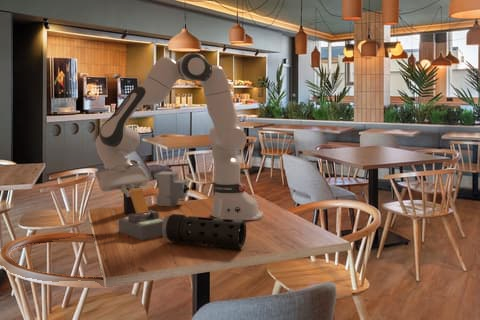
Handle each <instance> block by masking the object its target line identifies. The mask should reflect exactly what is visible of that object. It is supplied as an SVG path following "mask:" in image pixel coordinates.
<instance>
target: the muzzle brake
mask: <svg viewBox="0 0 480 320" xmlns="http://www.w3.org/2000/svg"><path fill="white" fill-rule="evenodd" d="M163 219H164V221H163V225H162V234H163V238H164V239H166V240H168V241H170V242H176V243H182V245H188V246H192V245H193V244H198V245H199V244H200V245H207V247H215V248H224V249H232V250H234V249H235V250H241V249H242V247H243V246H244V245H245V243H246V239H247V225H246V222H245V221H246V220H230V219H219V218H216V217H207V216H206V217H204V216H202V217H201V216H193V215H189V216H186V215H185V214H179V213H177V214H176V213H173V214H171V215H165V217H164V218H163Z"/></svg>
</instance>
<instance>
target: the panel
mask: <svg viewBox="0 0 480 320" xmlns="http://www.w3.org/2000/svg"><path fill="white" fill-rule="evenodd" d="M148 211H149V212H150V213H151V217H149V218H144V219H140V216H139V215H137V214H133V213H132V214H127V216H125V217H122V218H120V217H119V218H118V232H120V233H122V234H124V235H127V236H129V237H132V238H135V239H138V240H139V241H140V240H141V241H144V240H150V239H154V238H158V237H162V236H163V234H162V225H163V221H164V219H165V218H161V217H159V212H158V211H156V210H153V209H150V210H149V209H148ZM163 237H164V236H163Z"/></svg>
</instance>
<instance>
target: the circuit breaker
mask: <svg viewBox="0 0 480 320" xmlns="http://www.w3.org/2000/svg"><path fill="white" fill-rule="evenodd" d="M155 179H156V184H157V185H158V195H156V204H157V205H156V206H161V207H175V206H176V205H178V204H179V201H180V200H179V199H181V200H182V199H185V198H186V197H187V196H188V191H189V190H190V186H188V180H187V179H179V171H161V172H158V173H156V178H155ZM174 203H175V204H174Z"/></svg>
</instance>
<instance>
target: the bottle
mask: <svg viewBox="0 0 480 320" xmlns="http://www.w3.org/2000/svg"><path fill="white" fill-rule="evenodd" d="M139 187H140V186H139ZM139 187H134V188H139ZM126 189H127V190H128V191H129V188H126ZM122 193H123V192H122ZM123 213H124V214H127V215H128V214H132V213H133V214H136V211H135V208H134V205H133V201H132V198H131V197H127V196H126V194H124V193H123ZM136 215H137V214H136Z"/></svg>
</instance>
